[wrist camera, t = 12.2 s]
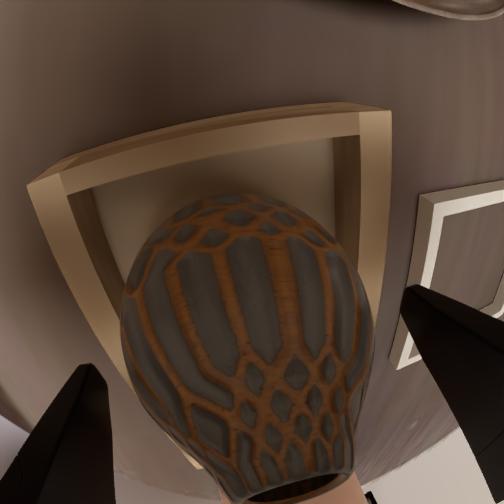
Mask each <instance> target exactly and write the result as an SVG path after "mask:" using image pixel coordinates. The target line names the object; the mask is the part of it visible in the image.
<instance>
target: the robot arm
mask: <svg viewBox="0 0 504 504" xmlns="http://www.w3.org/2000/svg"><path fill="white" fill-rule="evenodd" d="M400 313H401V316H402V318H403V320H404V322H405V324H406V326H407V329H408V331H409V333H410V335H411V337H412V339H413V341H414V343H415V345H416V347H417V350H418V352H419V354H420V356H421V357H422V359H423V361H424V363H425V364H426V366H427V368H428V369H429V371H430V373H431V375H432V376H433V378H434V380H435V381H436V383H437V385H438V387H439V389H440V390H441V392H442V394H443V396H444V398H445V399H446V401H447V403H448V405H449V407H450V409H451V410H452V412H453V414H454V416H455V418H456V420H457V422H458V424H459V426H460V428H461V429H462V431H463V433H464V435H465V437H466V439H467V441H468V443H469V445H470V448H471V449H472V452H473V454H474V456H475V458H476V460H477V463H478V465H479V467H480V469H481V471H482V473H483V476H484V478H485V480H486V483H487V485H488V487H489V489H490V492H491V494H492V497H493V499H494V501H495V503H496V504H497V503H499V502H501V501H502V500H504V322H503V321H501V320H499V319H497V318H494V317H492V316H490V315H488V314H486V313H483V312H481V311H479V310H477V309H474V308H472V307H470V306H468V305H465V304H463V303H461V302H458V301H456V300H454V299H452V298H449V297H447V296H445V295H442V294H440V293H438V292H435V291H433V290H431V289H428V288H426V287H424V286H421V285H419V284H414V285H411V286H408V287H406V288H405V289H404V292H403V296H402V301H401V306H400ZM364 495H365V498H366V500H367V502H368V504H377V502H376V500H375V498H374V496H373V494H372V492H371V491H369V492H367V493H366V494H364ZM0 504H116V500H115V488H114V471H113V442H112V427H111V418H110V408H109V396H108V386H107V383H106V381H105V379H104V378H103V376H102V375H101V374H100V372H99V371H98V369H97V368H96V367H95V365H93V364H92V363H88V364H81V365H79V366H78V367H77V368H76V370H75V371H74V372H73V374H72V375H71V376H70V378H69V379H68V380H67V382H66V383H65V385H64V386H63V387H62V389H61V390H60V392H59V393H58V394H57V396H56V397H55V399H54V400H53V401H52V403H51V404H50V406H49V407H48V409H47V410H46V412H45V413H44V414H43V416H42V417H41V419H40V420H39V422H38V423H37V425H36V426H35V428H34V429H33V431H32V432H31V434H30V435H29V437H28V438H27V440H26V441H25V443H24V444H23V446H22V448H21V449H20V451H19V452H18V456H16V457H15V458H14V460H13V462H12V463H11V465H10V466H9V468H8V469H7V471H6V473H5V474H4V476H3V477H2V479H1V480H0Z"/></svg>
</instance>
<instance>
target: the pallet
mask: <svg viewBox="0 0 504 504" xmlns="http://www.w3.org/2000/svg"><path fill="white" fill-rule="evenodd" d="M391 174H392V116H391V111H390V110H385V109H380V108H376V107H371V106H366V105H360V104H355V103H349V102H329V103H315V104H304V105H294V106H285V107H276V108H268V109H261V110H254V111H247V112H241V113H235V114H229V115H223V116H217V117H212V118H207V119H202V120H197V121H192V122H188V123H183V124H179V125H174V126H170V127H166V128H162V129H158V130H154V131H150V132H146V133H142V134H138V135H135V136H131V137H128V138H124V139H121V140H117V141H114V142H111V143H107V144H104V145H101V146H98V147H95V148H92V149H89V150H86V151H83V152H80V153H77V154H74V155H71V156H69V157H66V158H63V159H61V160H60V161H58V162H57V163H55V164H54V165H53V166H51V167H50V168H48V169H47V170H46V171H44V172H43V173H42V174H40V175H39V176H38V177H36V178H35V179H34V180H32V181H31V182H30V183H28V184H27V185H26V186H27V189H28V192H29V195H30V198H31V201H32V204H33V206H34V209H35V212H36V214H37V217H38V219H39V222H40V224H41V227H42V229H43V232H44V234H45V237H46V239H47V241H48V244H49V246H50V248H51V250H52V253H53V255H54V257H55V259H56V261H57V264H58V266H59V268H60V270H61V272H62V274H63V276H64V278H65V280H66V282H67V284H68V286H69V288H70V290H71V292H72V294H73V296H74V298H75V300H76V301H77V303H78V305H79V307H80V309H81V311H82V312H83V314H84V316H85V318H86V319H87V321H88V323H89V325H90V326H91V328H92V330H93V331H94V333H95V335H96V336H97V338H98V340H99V341H100V343H101V345H102V346H103V348H104V349H105V351H106V353H107V354H108V356H109V357H110V359H111V360H112V362H113V363H114V365H115V366H116V368H117V369H118V371H119V372H120V374H121V375H122V377H123V378H124V380H125V381H126V382H127V384H128V385H129V387H130V388H131V390H132V391H133V392H134V394H135V395H136V396H137V394H136V392H135V390H134V388H133V386H132V383H131V381H130V378H129V375H128V372H127V369H126V365H125V361H124V357H123V352H122V346H121V339H120V311H121V304H122V297H123V293H124V289H125V285H126V281H127V278H128V275H129V272H130V270H131V267H132V265H133V262H134V260H135V258H136V256H137V254H138V252H139V251H140V249H141V248H142V246H143V245H144V243H145V242H146V241H147V239H148V238H149V237H150V235H151V234H152V233H153V232H154V231H155V230H156V229H157V227H159V226H160V225H161V224H162V223H163V222H164V221H165V220H166V219H168V218H169V217H170V216H172V215H173V214H174V213H176V212H177V211H179V210H180V209H182V208H184V207H185V206H187V205H189V204H191V203H194V202H196V201H198V200H201V199H204V198H207V197H211V196H215V195H220V194H229V193H248V194H256V195H262V196H267V197H271V198H274V199H277V200H280V201H282V202H285V203H287V204H289V205H292V206H294V207H296V208H298V209H299V210H301V211H303V212H304V213H306V214H307V215H309V216H310V217H311V218H313V219H314V220H315V221H316V222H318V223H319V224H320V225H321V226H322V227H323V228H325V229H326V230H327V231H328V232H329V233H330V234H331V235H332V236H333V237H334V238H335V239H336V241H337V242H338V243H339V244H340V245H341V247H342V248H343V249H344V250H345V252H346V253H347V254H348V256H349V257H350V259H351V260H352V262H353V264H354V266H355V268H356V270H357V271H358V273H359V275H360V278H361V280H362V283H363V285H364V288H365V290H366V293H367V297H368V300H369V303H370V307H371V312H372V317H373V322H374V331H375V325H376V320H377V314H378V308H379V302H380V295H381V289H382V281H383V274H384V266H385V257H386V248H387V238H388V227H389V214H390V198H391ZM137 398H138V396H137ZM138 399H139V398H138ZM166 435H167V434H166ZM167 436H168V435H167ZM168 437H169V436H168ZM169 438H170V437H169ZM170 439H171V438H170ZM171 441H172V442H173V443H174V444H175V445H176V446H177V447H178V449H179V450H180V451H181V452H182V453H183V454H184V455H185V456H186V458H187V459H188V460H189V461H190V462H191V463H192V464H193V465H194V466H195V467H196V468H197V469H203V467H202V466H201V465H200V464H199V463H198V462H197V461H195V460H194V459H193V458H192V457H191V456H190V455H189V454H187V453H186V452H185V451H184V450H183V449H182V448H181V447H180V446H179V445H178V444H176V443H175V442H174V441H173V440H172V439H171Z"/></svg>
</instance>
